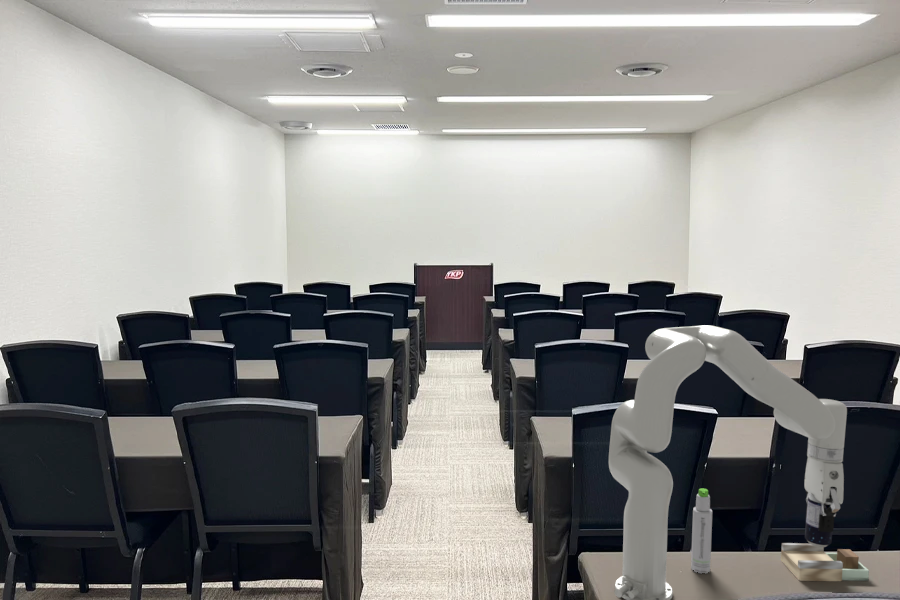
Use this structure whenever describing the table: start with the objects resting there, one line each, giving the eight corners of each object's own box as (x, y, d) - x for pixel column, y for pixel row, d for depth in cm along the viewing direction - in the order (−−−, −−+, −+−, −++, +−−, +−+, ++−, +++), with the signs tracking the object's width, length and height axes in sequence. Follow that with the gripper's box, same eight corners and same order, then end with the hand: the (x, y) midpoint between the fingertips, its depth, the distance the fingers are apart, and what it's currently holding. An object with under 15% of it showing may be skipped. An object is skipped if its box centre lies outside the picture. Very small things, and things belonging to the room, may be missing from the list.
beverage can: (834, 549, 166) (838, 500, 165) (808, 547, 167) (812, 498, 166) (826, 539, 172) (830, 491, 170) (801, 536, 173) (805, 489, 172)
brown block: (845, 556, 168) (858, 557, 168) (837, 549, 172) (850, 549, 172) (844, 572, 168) (857, 573, 168) (836, 564, 172) (849, 565, 172)
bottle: (688, 570, 171) (691, 490, 169) (694, 563, 174) (697, 485, 172) (706, 575, 168) (710, 494, 166) (712, 568, 172) (715, 489, 170)
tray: (840, 580, 166) (841, 569, 166) (822, 562, 175) (822, 552, 174) (868, 580, 166) (868, 570, 165) (848, 562, 174) (849, 552, 174)
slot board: (799, 580, 166) (800, 562, 165) (780, 560, 176) (781, 543, 175) (841, 581, 165) (842, 562, 165) (821, 561, 175) (822, 543, 175)
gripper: (860, 464, 159) (854, 542, 160) (823, 441, 176) (817, 511, 177) (826, 463, 159) (820, 540, 161) (792, 440, 176) (787, 510, 178)
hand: (819, 524), depth 169 cm, fingers closed on beverage can, 5 cm apart
